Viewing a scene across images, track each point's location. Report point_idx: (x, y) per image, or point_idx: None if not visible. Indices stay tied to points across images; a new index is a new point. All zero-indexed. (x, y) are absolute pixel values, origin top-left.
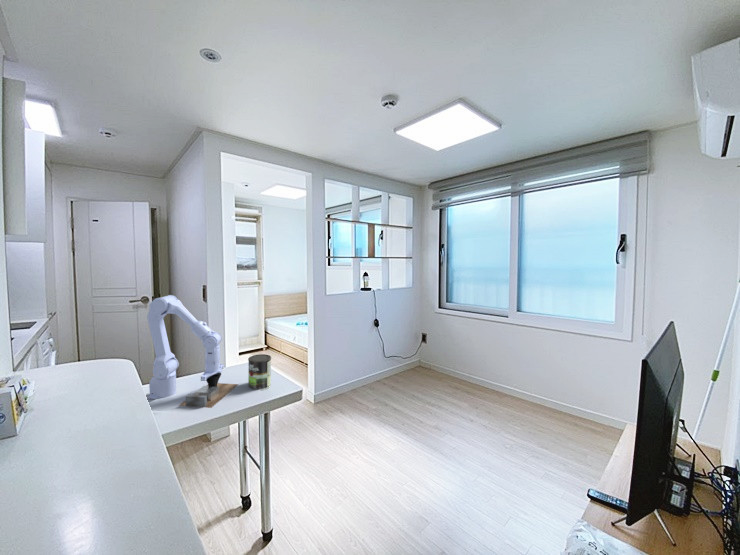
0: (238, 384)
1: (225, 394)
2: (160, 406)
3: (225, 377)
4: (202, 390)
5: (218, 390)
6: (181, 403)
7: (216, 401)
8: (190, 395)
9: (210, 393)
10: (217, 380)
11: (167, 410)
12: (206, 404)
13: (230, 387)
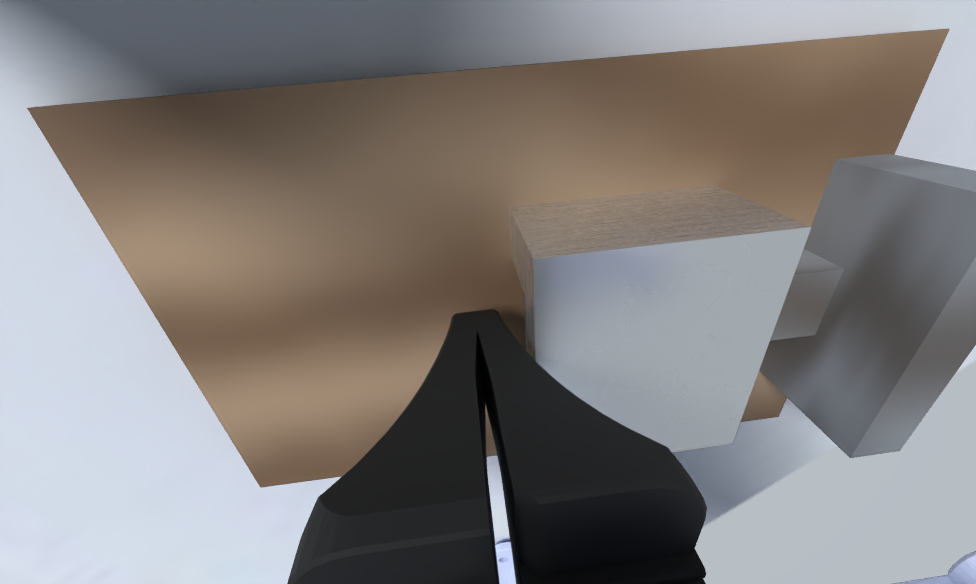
0: (32, 108)
1: (498, 94)
2: (726, 500)
3: (12, 455)
4: (691, 402)
5: (541, 230)
6: (741, 420)
7: (749, 85)
8: (895, 422)
9: (795, 236)
10: (461, 404)
11: (801, 434)
12: (863, 160)
13: (234, 181)
